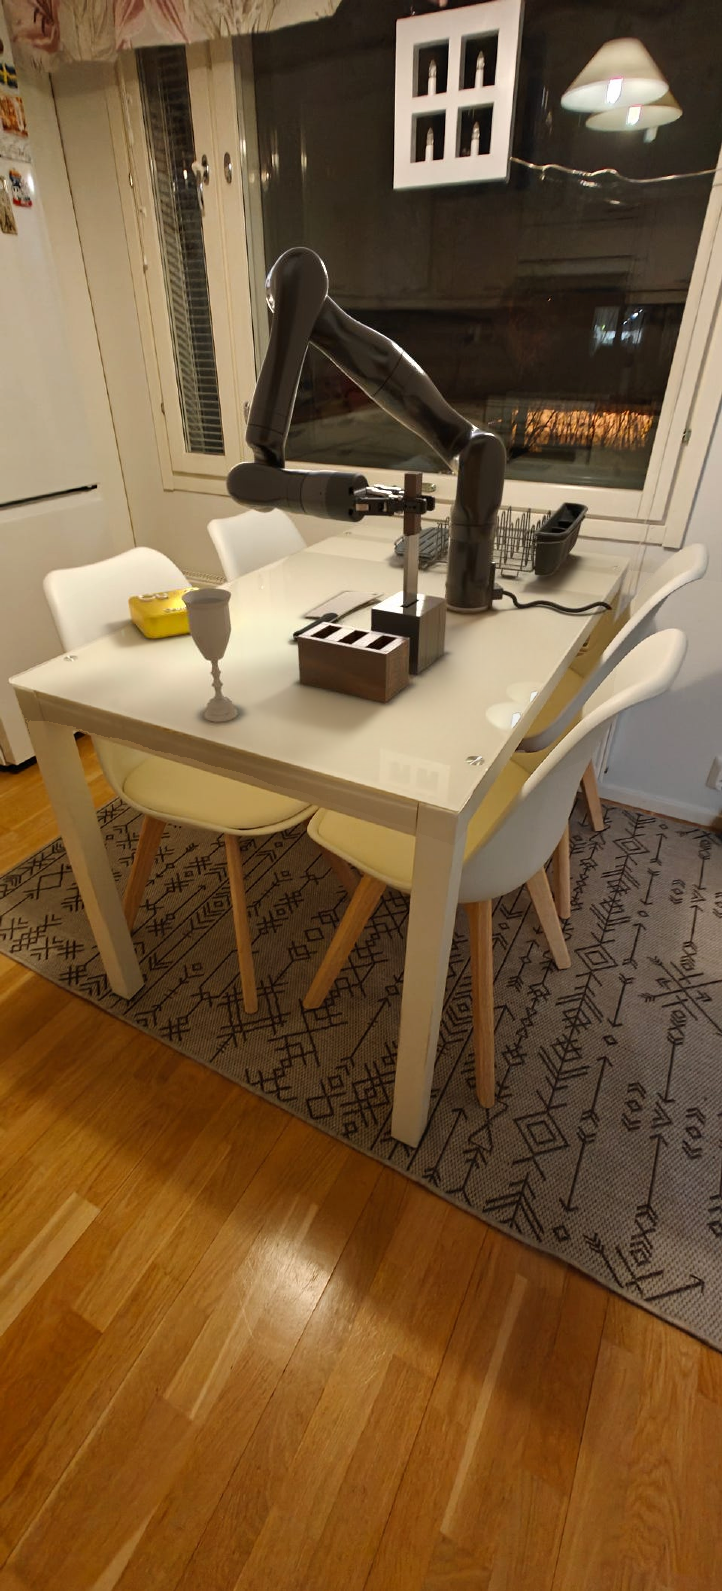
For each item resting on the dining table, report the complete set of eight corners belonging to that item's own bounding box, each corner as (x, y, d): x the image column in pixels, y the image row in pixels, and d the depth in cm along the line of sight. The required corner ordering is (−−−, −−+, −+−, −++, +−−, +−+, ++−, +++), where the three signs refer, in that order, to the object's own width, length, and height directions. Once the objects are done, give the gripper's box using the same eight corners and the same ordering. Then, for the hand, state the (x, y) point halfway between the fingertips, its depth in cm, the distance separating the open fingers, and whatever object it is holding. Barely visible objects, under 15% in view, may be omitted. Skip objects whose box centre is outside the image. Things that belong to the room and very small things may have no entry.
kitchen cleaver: (346, 587, 160) (386, 588, 155) (347, 595, 161) (387, 596, 156) (266, 630, 137) (310, 633, 132) (267, 639, 138) (311, 642, 133)
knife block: (399, 644, 133) (400, 590, 127) (444, 653, 129) (447, 598, 124) (370, 664, 125) (370, 608, 119) (417, 674, 121) (419, 616, 116)
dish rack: (558, 586, 163) (566, 531, 157) (379, 566, 179) (379, 515, 172) (583, 552, 189) (591, 503, 183) (425, 536, 205) (427, 491, 198)
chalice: (200, 704, 111) (184, 589, 102) (244, 702, 112) (232, 587, 102) (195, 726, 105) (177, 605, 96) (242, 723, 106) (229, 603, 96)
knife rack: (325, 666, 124) (323, 621, 120) (408, 684, 117) (409, 637, 113) (299, 683, 118) (297, 636, 114) (385, 703, 112) (386, 654, 107)
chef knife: (409, 602, 124) (413, 470, 112) (420, 604, 123) (425, 471, 112) (399, 609, 121) (401, 474, 110) (409, 611, 120) (413, 475, 109)
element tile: (148, 640, 135) (144, 615, 133) (129, 618, 146) (125, 594, 144) (224, 627, 141) (221, 603, 139) (200, 606, 152) (197, 583, 150)
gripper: (311, 477, 112) (411, 486, 105) (355, 465, 122) (449, 472, 115) (313, 527, 116) (409, 539, 109) (356, 511, 126) (447, 521, 119)
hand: (429, 505), depth 112 cm, fingers closed on chef knife, 2 cm apart
